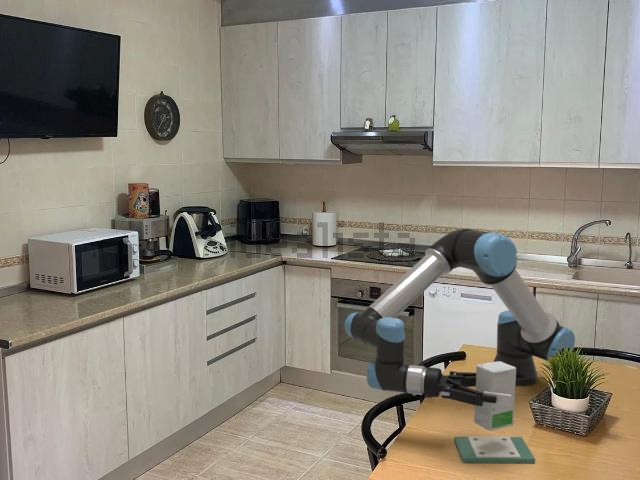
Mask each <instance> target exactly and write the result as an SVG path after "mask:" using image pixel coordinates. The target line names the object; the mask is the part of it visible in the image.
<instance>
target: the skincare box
mask: <svg viewBox="0 0 640 480" xmlns="http://www.w3.org/2000/svg"><path fill="white" fill-rule="evenodd" d="M475 367H476V371H475V373H476V386H475V390H476V391H479V392H482V393H483V395H484V391H486V392H494V393H501V394H509V395H511V406H504V405H497V404H490V403H483V406H476V405H474V417H473V422H474V423H475V424H477V425H478V426H480V427H482V428H483V429H485V430H487V431H489V432H492V431H496V430H500V429H504V428H508V427H512V426H514V417H515V415H514V414H515V400H516V399H515V397H516V385H515V381H516V367H513V366H511V365H508V364H505V363H503V362H501V361H498V362H494V361H492V362H485V363H479V364H476V365H475Z"/></svg>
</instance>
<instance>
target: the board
mask: <svg viewBox="0 0 640 480" xmlns="http://www.w3.org/2000/svg"><path fill="white" fill-rule="evenodd" d="M453 442H454V443H455V446H456V449H457V452H458V455H459V457H460V460H461V463H462V464H536V458H535V456H534V454H533V453H532V451H531V449H530V448H529V446H528V445H527V443H526V441H525V439H524V438H523V437H522V436H483V435H482V436H474V435H473V436H472V435H471V436H470V435H469V436H454V439H453Z"/></svg>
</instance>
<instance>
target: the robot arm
mask: <svg viewBox="0 0 640 480" xmlns="http://www.w3.org/2000/svg"><path fill="white" fill-rule="evenodd" d="M517 254H518V250H517V248H516V245H515V243H514V242H513V240H511V239H510V237H508V236H506V235H503V234H500V233H497V232H488V231H483V230H482V231H481V230H476V229H471V228H458V229H456V230H453V231H451V232H449V233H447V234H445V235H444V236H442V237H441V238H439V239H438V240H436V241H435V242H433V244H431V245H430V246H429V247H428V248H427V249H426V250H425V253H424V256H423V257H422V258H421V259H419V261H418V262H417V263H415V264H414V265H413V266H412V267H410V269H409V270H408V271H407V272H406V273H404V274H403V275H402V276H401V277H400V278H399V279H398V280H396V281H395V282H394V283H393V284H392V285H391V286H390V287H389V288H388V289H387V290H385V292H383V294H381V295H380V296H379V297H378V298H377V299H376V300H375V301H373V302H372V303H371V304H370V305H369V306H368V307H367V308H366V309H364V310H363V311H362V312H353V313H350V314H349V315H348V316H347V317H346V319H345V321H344V331H345V332H346V333H345V334H346V335H348V336H349V337H350V338H352V339H353V340H354V341H356V342H360V343H362V344H364V345H366V346H369V347H370V348H372V349H374V350H375V360H371V361H370V362H369V363H368V367H367V373H366V382H367V385H368V386H369V388H372V389H377V390H381V391H383V392H385V391H387V392H396V393H403V394H412V396H416V395H418V396H419V395H420V396H422V395H424V396H426V397H431V398H439V397H440V396H441V398H442V399H448V400H451V401H452V400H453V401H457V402H460V403H464V404H469V405H472V406H475V405H476V406H483V403H490V404H497V405H504V406H511V395H509V394H501V393H494V392H486V391H484V395H483V393H482V392H479V391H476V389H473V388H472V387H476V372H463V371H453V370H451V371H449V374H447V375H446V374H445V375H444V374H443V371H442V369H441V368H437V367H425V366H424V365H414V364H413V365H412V364H405V338H406V333H405V323H404V321H403V320H402V319H399V318H397V317H398V316H400V314H401V313H403V311H405V309H407V308H408V307H409V306H410V305H411V304H412V303H413V302H415V301H416V299H417V298H419V297H420V296H421V295H422V294H423V293H424V292H425V291H426V290H427V289H428V288H430V286H431V285H432V284H434V283H435V282H436V281H437V280H438V279H439V278H440V277H441V276H442V275H448V274H450V273H451V272H452V271H453V270H455V269H457V268H464V269H467V270H471V271H472V272H474V273H475V274H476V276H477V277H478V278H479V280H480V281H481V282H482V283H483V284H485V285H488V286H491V288H492V289H493V291H495V293H496V295H497V296H498V297H499V299H500V300H501V302H502V303H503V304H504V306H505V307H506V308H507V310H503V311H501V312H500V313H499V314H498V320H497V323H496V324H497V327H496V328H497V330H496V332H497V333H496V355H495V358H494V359H493V362H498V361H501V362H503V363H505V364H508V365H511V366H513V367H516V381H515V386H529V385H532V384H535V383H536V382H537V381H538V371H537V369H536V364H535V361H534V358H533V357H536V358H538V359H541V360H544V361H546V362H548V358H549V357H553V356H554V355H555V354H556V353H557V351H558V350H559V349H561V350H562V349H563V348H565V347H566V348H573V349H574V347H575V345H576V344H575V343H576V338H575V333H574V331H573V330H572V329H570V328H568V327H564V326H562V325H560V322H558V320H557V319H556V317H555V316H554V315H553V314H551V313H549V312H545V310H544V309H543V307H542V306H541V304H540V302H539V301H538V300H537V298H536V297H535V295H534V294H533V292H532V291H531V290H530V288H529V286H528V285H527V284H526V283H525V281H524V279H523V278H522V277H521V275H520V273H519V271H518V270H517V262H518V256H517Z"/></svg>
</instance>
